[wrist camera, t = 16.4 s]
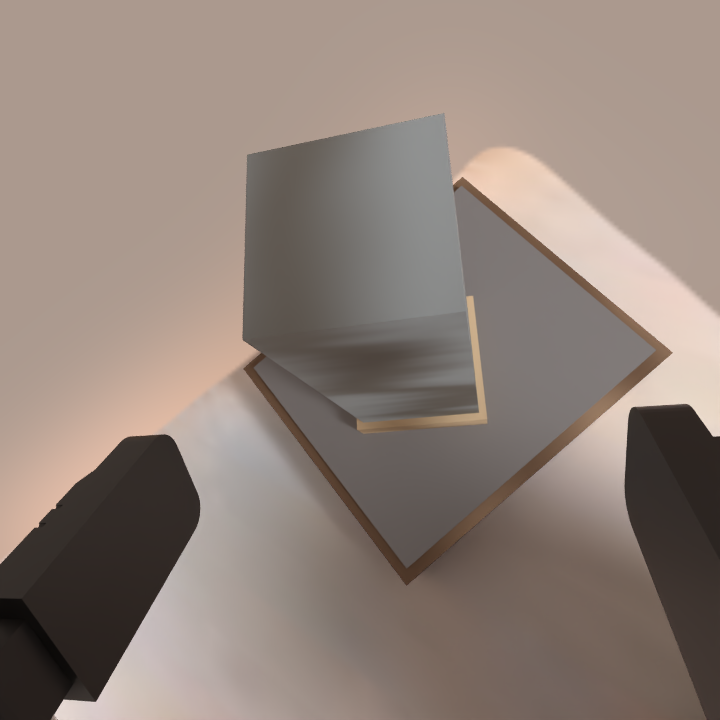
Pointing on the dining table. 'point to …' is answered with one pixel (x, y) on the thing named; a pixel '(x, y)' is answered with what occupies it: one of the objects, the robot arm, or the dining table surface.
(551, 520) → the dining table surface
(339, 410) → the plate
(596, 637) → the dining table surface
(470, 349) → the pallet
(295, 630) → the dining table surface
